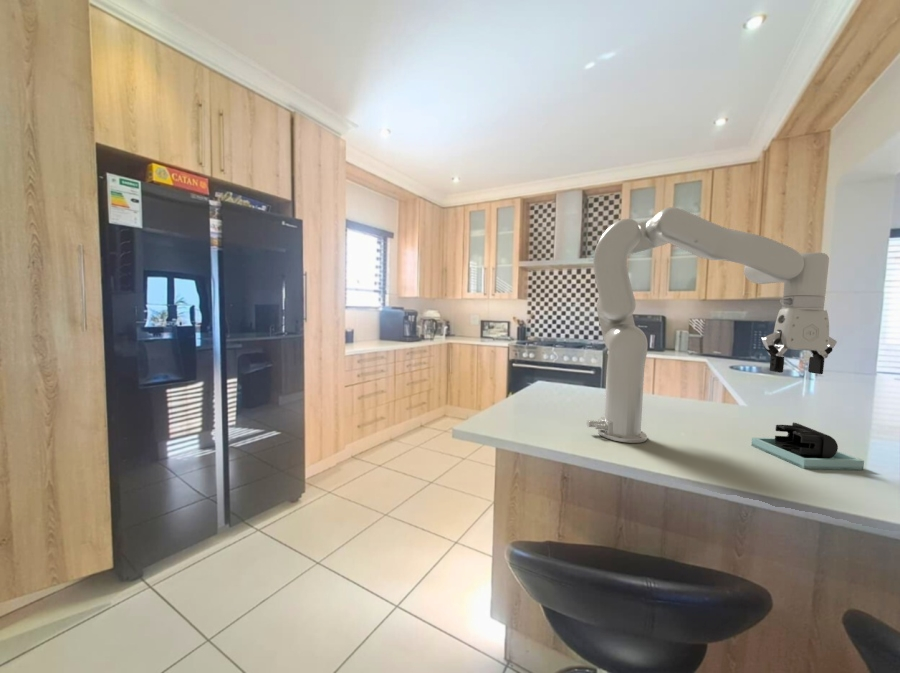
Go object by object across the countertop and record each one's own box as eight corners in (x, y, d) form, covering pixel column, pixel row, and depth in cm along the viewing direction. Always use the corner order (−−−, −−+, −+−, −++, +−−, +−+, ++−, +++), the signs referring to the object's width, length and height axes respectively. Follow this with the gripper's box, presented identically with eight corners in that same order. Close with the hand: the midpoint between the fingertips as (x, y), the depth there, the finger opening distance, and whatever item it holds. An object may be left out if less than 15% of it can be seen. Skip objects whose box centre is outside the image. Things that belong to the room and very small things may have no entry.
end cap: (837, 464, 85) (839, 435, 85) (801, 461, 86) (804, 433, 86) (804, 448, 95) (806, 423, 95) (772, 446, 96) (774, 421, 96)
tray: (803, 468, 84) (804, 459, 83) (751, 445, 98) (752, 437, 98) (863, 470, 84) (864, 460, 83) (802, 446, 98) (802, 438, 98)
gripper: (780, 302, 87) (773, 373, 88) (854, 305, 87) (846, 376, 88) (755, 303, 94) (748, 368, 96) (823, 305, 94) (816, 371, 95)
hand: (795, 372), depth 92 cm, fingers open, 9 cm apart
